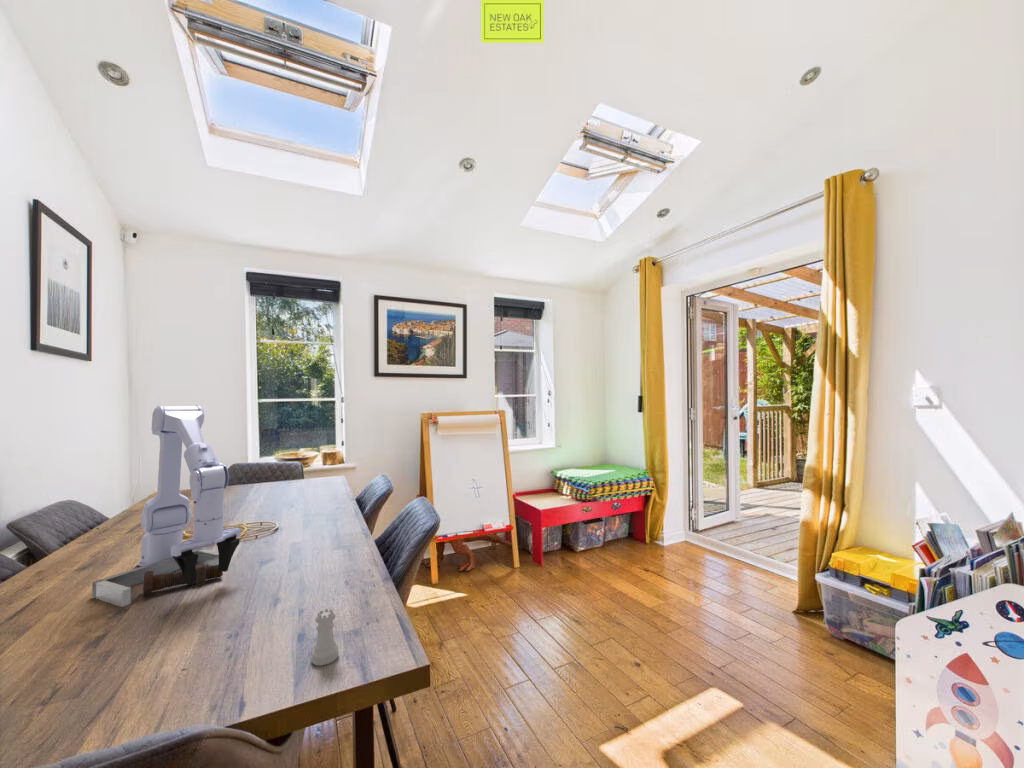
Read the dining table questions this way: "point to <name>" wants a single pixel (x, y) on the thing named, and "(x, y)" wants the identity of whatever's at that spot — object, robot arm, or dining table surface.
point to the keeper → (142, 578)
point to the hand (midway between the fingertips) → (207, 577)
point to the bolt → (178, 578)
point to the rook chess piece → (324, 640)
